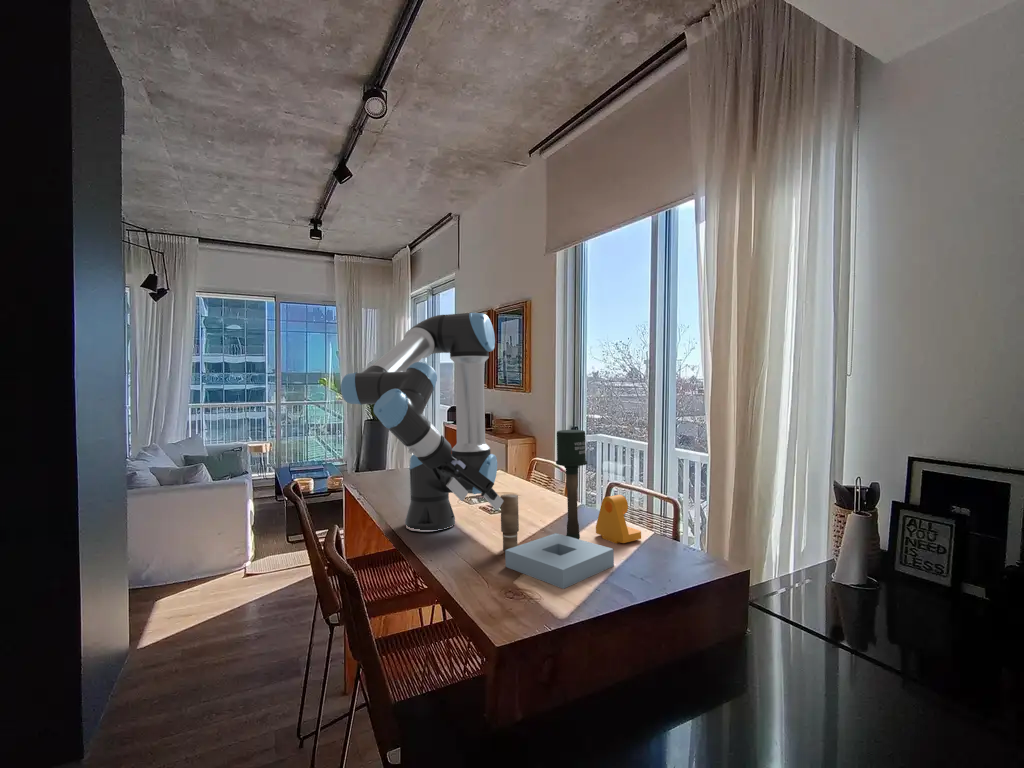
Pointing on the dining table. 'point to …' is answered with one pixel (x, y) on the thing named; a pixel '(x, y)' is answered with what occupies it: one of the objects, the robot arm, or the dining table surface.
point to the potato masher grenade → (571, 471)
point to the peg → (509, 520)
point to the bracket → (615, 521)
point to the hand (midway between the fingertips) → (481, 500)
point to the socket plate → (559, 559)
